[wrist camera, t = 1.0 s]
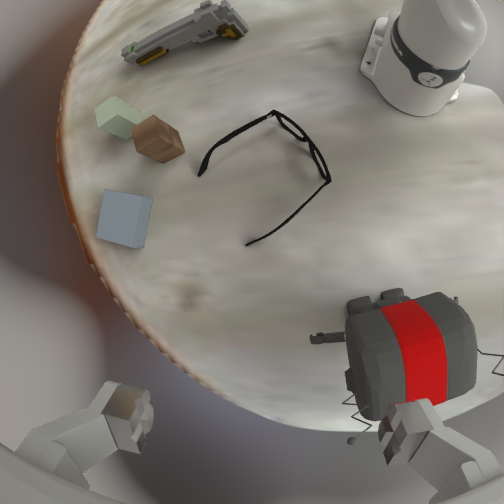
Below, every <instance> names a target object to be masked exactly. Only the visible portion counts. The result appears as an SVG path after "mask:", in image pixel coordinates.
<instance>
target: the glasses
mask: <svg viewBox="0 0 504 504" xmlns="http://www.w3.org/2000/svg"><path fill="white" fill-rule="evenodd" d="M274 115H275V116H276V118H277V120H278V121H279V123H280V124H281V125H282V126H283V127H284V128H285V129H286V130H288V131H289V132H290V133H291V134H293V135H294V136H295V137H296V138H297V139H298V140H300V141H302V142H308V143H309V148H310V152H311V154H312V157H313V159H314V161H315V162H316V164H317V166H318V169H319V171H320V173H321V175H322V177H323V179H324V180H326V182H324V183H322V185H321V187H320V188H319V189H318V190H317V191H316V192H315V193H314V194H313V195H312V196H311V197H310V198H309V199H308V200H307V201H306V202H305V203H304V204H303V205H301V206H300V207H299V208H298V209H297V210H296V211H295V212H294V213H293V214H292V215H291V216H290V217H289V218H287V219H286V220H285V221H284V222H283V223H282V224H281V225H279V226H278V227H277V228H276V229H274V230H273V231H271V232H270V233H268V234H266V235H265V236H263V237H261V238H259V239H256V240H254V241H252V242H249V243H248V244H246V246H248V245H250V244H252V243H255V242H257V241H259V240H262V239H264V238H266V237H268V236H269V235H271V234H272V233H274V232H276V231H277V230H278V229H280V228H281V227H283V226H284V225H285V224H286V223H288V222H289V221H290V220H291V219H292V218H293V217H294V216H295V215H296V214H297V213H298V212H299V211H300V210H301V209H302V208H303V207H304V206H305V205H306V204H307V203H308V202H309V201H310V200H311V199H312V198H313V197H314V196H315V195H316V194H317V193H318V192H319V191H320V190H321V189H322V188H323V187H324V186H326V185H328V184H329V183H330V182H332V181H331V176H330V173H329V170H328V168H327V165H326V163H325V161H324V159H323V157H322V155H321V153H320V151H319V150H318V148H317V147H316V146H315V144H314V143H313V142H312V141H311V139H310V138H309V137H308V136H307V134H306V133H305V132H304V131H303V130H302V129H301V128H300V127H299V126H298V125H297V124H296V123H295V122H294V121H292V120H291V119H290V118H288V117H287V116H285V115H284V114H282V113H280V112H278V111H276V110H272V111H271V112H269V113H268V114H267V115H265V116H262V117H260V118H258V119H256V120H254V121H252V122H250V123H248V124H246V125H244V126H242V127H241V128H239V129H237V130H235V131H233V132H232V133H230V134H228V135H227V136H225V137H224V138H222V139H221V140H220V141H218V142H217V143H216V144H215V145H214V146H213V147H212V148H211V149H210V150H209V151H208V153H207V154H206V156H205V157H204V159H203V162H202V164H201V167H200V170H199V173H198V176H199V177H200V176H201V175H202V174H203V173H204V172H205V170H206V169H207V167H208V162H209V159H210V156H211V154H212V152H213V150H214V149H215V148H217V147H218V146H220V145H222V144H224V143H226V142H228V141H229V140H231V139H232V138H233V137H235V136H237V135H238V134H240V133H242V132H243V131H245V130H247V129H249V128H250V127H252V126H254V125H256V124H258V123H259V122H261V121H263V120H265V119H267V118H270V117H272V116H274ZM281 117H282V118H284V119H286V120H287V121H289V122H290V123H291V124H292V125H294V126H295V127H296V128H297V129H298V130H299V131H300V132H301V133H302V135H303V136H304V137H303V138H302V137H300V136H298V135H297V134H296V133H294V132H293V131H292V130H291V129H289V128H288V127H287V126H286V125H285V124H284V123H283V122H282V120H281ZM314 150H315V151H316V152H317V154H318V156H319V158H320V160H321V162H322V164H323V166H324V169H325V172H326V176H327V177H326V176H325V174H324V172H323V170H322V168H321V166H320V164H319V162H318V160H317V158H316V156H315V152H314Z"/></svg>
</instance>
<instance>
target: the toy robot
mask: <svg viewBox="0 0 504 504" xmlns="http://www.w3.org/2000/svg"><path fill="white" fill-rule="evenodd" d="M381 298H382V300H379V301H377V302H375V303H372V304H371V301H370V297H369V296H365V297H360V298H357V299H353V300H351V301H349V302H348V303H347V307H348V311H349V315H350V317H349V318H348V319H347V321H346V325H345V332H336V333H326V334H324V333H317V334H316V335H317V336H312V334H311V335H310V341H311V344H321V343H324V342H325V343H334V342H345V341H346V345H347V352H348V358H349V365H350V368H349V369H348V370H347V371H345V377H346V383H347V390H348V391H351V392H352V393H353V395H352V396H351V397H353V396H354V395H355V399H356V403H357V404H349V403H345V402H346V401H347V400H349V399H350V398H351V397H349V398H348V399H347V400H345V401H344V402H343V403H342V404H347V405H357V406H358V409H359V411H358V412H357V413H359V412H360V414H361V415H362V416H363V417H364V418H365V419H367V420H371V421H380V420H382V419H383V418H384V417H385V416H387V413H386V409H387V407H388V405H389V404H390V403H396V402H405V401H412V400H419V399H426V398H427V399H429V400H430V402H431V403H432V405H433V406H435V405H437V404H440V403H443V402H445V401H447V400H450V399H453V398H455V397H458V396H461V395H463V394H465V393H467V392H468V391H469V390H471V389H472V388H474V386H475V383H476V372H477V350H478V351H479V352H480V353H481V354H484V355H493V356H503V358H504V355H496V354H487V353H482V352H481V351H480V350H479V349H478V348H477V341H476V334H475V328H474V325H473V323H472V321H471V319H470V317H469V315H468V314H467V313H466V312H465V310H464V309H463V308H462V307H461V306H460V305H458V297H454V300H452V299H451V298H448V297H447V296H446V295H444V294H443V293H441V292H435V293H432V294H429V295H426V296H422V297H419V298H416V299H410V298H409V297H407V296H404V292H403V289H401V288H396V289H392V290H388V291H385V292H382V293H381ZM503 358H502V359H501V360H500V362H499V363H498V365H499V364H500V363H501V361H502V360H503ZM498 365H497V366H496V367H495V369H496V368H497V367H498ZM495 369H494V370H493V371H492V373H493V374H497V375H501V376H504V374H500V373H495V372H494V371H495ZM357 413H355V414H354V415H356V414H357ZM354 415H352V416H351V417H352V418H354V419H356V420H358V421H361V422H363V423H365V424H367V425H370V426H369V427H368V428H367V429H365V430H364V431H363V432H362V433H364V432H365V431H366V430H368V429H369V428H370V427H371V426H372V425H371V424H369V423H366V422H364V421H362V420H359V419H357V418H355V417H353V416H354ZM362 433H360V434H359V435H358V436H357V437H359V436H360V435H361V434H362ZM357 437H355V438H354V437H350V438H349V439H348V441H347V443H348V444H349V445H354V444H355V442H356V438H357Z"/></svg>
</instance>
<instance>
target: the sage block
mask: <svg viewBox="0 0 504 504" xmlns="http://www.w3.org/2000/svg"><path fill="white" fill-rule="evenodd" d="M95 113H96V119H97V124H98V128H99V129H102V130H104V131H106V132H109V133H111V134H113V135H116V136H118V137H120V138H122V139H125V140H128V139H129V138H131V137H133V136H132V133H131V128H133V127H134V126H136V125H137V124H139V123H141V122H142V118H141V114H140V111H138V110H137V109H135V108H134V107H132V106H130V105H129V104H127V103H126V102H124V101H122V100H121V99H119V98H117V97H116V96H114V95H113V96H112V97H110V98H109V99H107V100H106V101H105V102H103V103H102V104H101V105H99V106H98V107H97V108H95Z"/></svg>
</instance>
